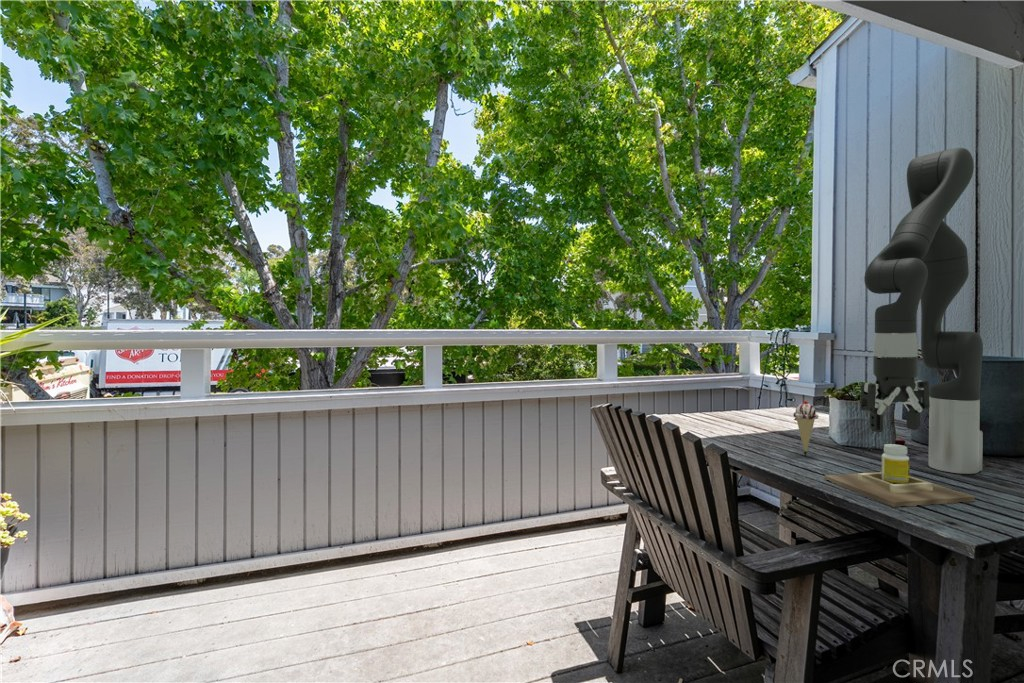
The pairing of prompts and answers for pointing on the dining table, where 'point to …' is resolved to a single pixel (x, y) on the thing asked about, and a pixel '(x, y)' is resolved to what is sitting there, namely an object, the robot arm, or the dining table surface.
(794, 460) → the dining table surface
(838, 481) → the socket board
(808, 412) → the ice cream cone
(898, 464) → the supplement bottle
